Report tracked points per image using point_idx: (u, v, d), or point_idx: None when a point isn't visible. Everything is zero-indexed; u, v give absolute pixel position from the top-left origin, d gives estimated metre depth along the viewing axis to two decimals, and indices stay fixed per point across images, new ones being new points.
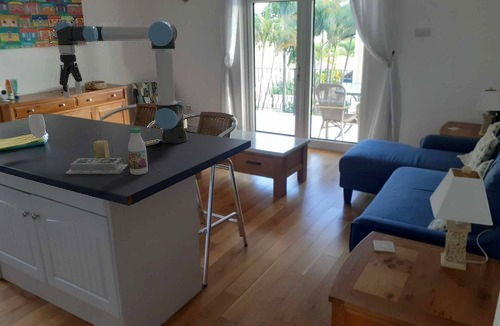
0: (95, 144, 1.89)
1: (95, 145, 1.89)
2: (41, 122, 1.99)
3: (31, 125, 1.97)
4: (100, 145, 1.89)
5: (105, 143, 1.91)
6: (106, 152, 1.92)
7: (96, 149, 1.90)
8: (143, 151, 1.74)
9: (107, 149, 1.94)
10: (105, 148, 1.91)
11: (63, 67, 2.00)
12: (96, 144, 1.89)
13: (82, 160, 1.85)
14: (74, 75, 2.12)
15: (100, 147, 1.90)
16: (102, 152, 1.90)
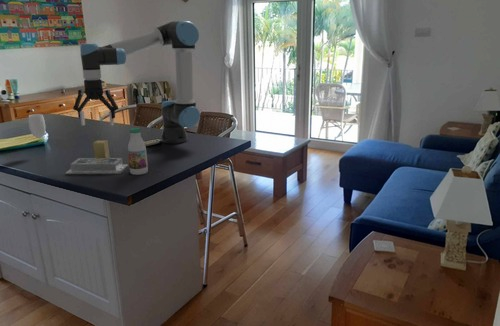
0: (95, 144, 1.89)
1: (95, 145, 1.89)
2: (41, 122, 1.99)
3: (31, 125, 1.97)
4: (100, 145, 1.89)
5: (105, 143, 1.91)
6: (106, 152, 1.92)
7: (96, 149, 1.90)
8: (143, 151, 1.74)
9: (107, 149, 1.94)
10: (105, 148, 1.91)
11: None
12: (96, 144, 1.89)
13: (82, 160, 1.85)
14: None
15: (100, 147, 1.90)
16: (102, 152, 1.90)
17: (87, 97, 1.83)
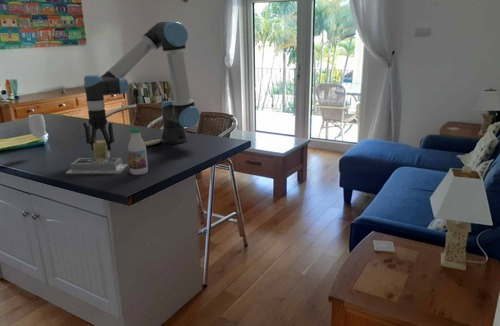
0: (95, 144, 1.89)
1: (95, 145, 1.89)
2: (41, 122, 1.98)
3: (31, 125, 1.97)
4: (100, 145, 1.89)
5: (105, 143, 1.91)
6: None
7: (96, 149, 1.90)
8: (143, 151, 1.74)
9: None
10: (105, 149, 1.91)
11: None
12: (96, 144, 1.89)
13: (82, 160, 1.85)
14: None
15: (100, 147, 1.90)
16: (102, 152, 1.90)
17: (93, 128, 1.88)
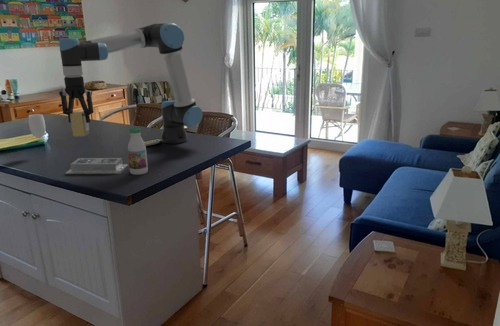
0: (72, 115, 1.73)
1: (72, 116, 1.73)
2: (41, 122, 1.98)
3: (31, 125, 1.97)
4: (78, 116, 1.73)
5: (83, 114, 1.75)
6: None
7: (73, 120, 1.74)
8: (143, 151, 1.74)
9: None
10: (83, 120, 1.74)
11: None
12: (73, 115, 1.73)
13: (82, 160, 1.85)
14: None
15: (78, 118, 1.73)
16: (80, 124, 1.74)
17: (70, 96, 1.71)
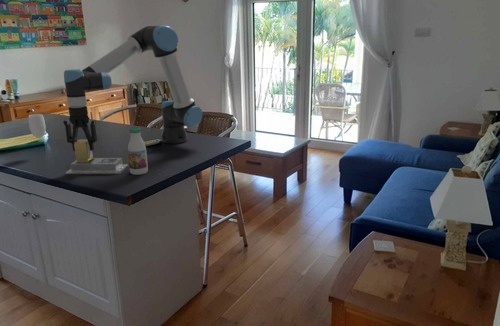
0: (76, 143, 1.77)
1: (76, 144, 1.77)
2: (41, 122, 1.99)
3: (31, 125, 1.97)
4: (82, 145, 1.77)
5: (87, 142, 1.79)
6: None
7: (77, 149, 1.77)
8: (143, 151, 1.74)
9: None
10: (87, 148, 1.78)
11: None
12: (77, 143, 1.77)
13: None
14: None
15: (82, 147, 1.77)
16: (84, 152, 1.78)
17: (74, 126, 1.75)
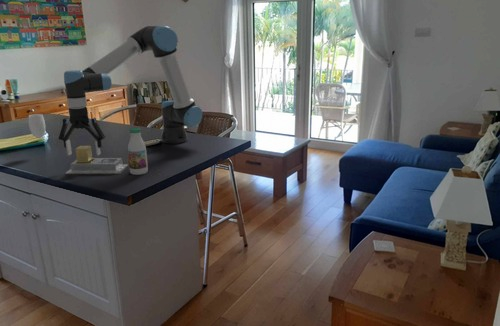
0: (77, 150, 1.78)
1: (77, 151, 1.78)
2: (41, 122, 1.98)
3: (31, 125, 1.97)
4: (83, 151, 1.78)
5: (88, 149, 1.80)
6: (89, 158, 1.81)
7: (78, 155, 1.78)
8: (143, 151, 1.74)
9: (90, 155, 1.82)
10: (88, 154, 1.79)
11: None
12: (78, 150, 1.78)
13: None
14: None
15: (83, 153, 1.78)
16: (85, 158, 1.79)
17: (72, 126, 1.75)
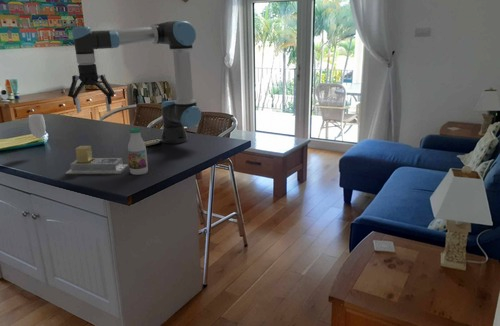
0: (77, 150, 1.78)
1: (77, 151, 1.78)
2: (41, 122, 1.99)
3: (31, 125, 1.97)
4: (83, 151, 1.78)
5: (88, 149, 1.80)
6: (89, 158, 1.81)
7: (78, 155, 1.78)
8: (143, 151, 1.74)
9: (90, 155, 1.82)
10: (88, 154, 1.79)
11: None
12: (78, 150, 1.78)
13: None
14: None
15: (83, 153, 1.78)
16: (85, 158, 1.79)
17: (82, 83, 1.77)
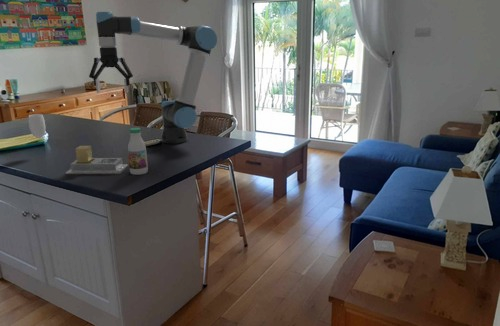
0: (77, 150, 1.78)
1: (77, 151, 1.78)
2: (41, 122, 1.99)
3: (31, 125, 1.97)
4: (83, 151, 1.78)
5: (88, 149, 1.80)
6: (89, 158, 1.81)
7: (78, 155, 1.78)
8: (143, 151, 1.74)
9: (90, 155, 1.82)
10: (88, 154, 1.79)
11: None
12: (78, 150, 1.78)
13: None
14: None
15: (83, 153, 1.78)
16: (85, 158, 1.79)
17: (103, 65, 1.89)
